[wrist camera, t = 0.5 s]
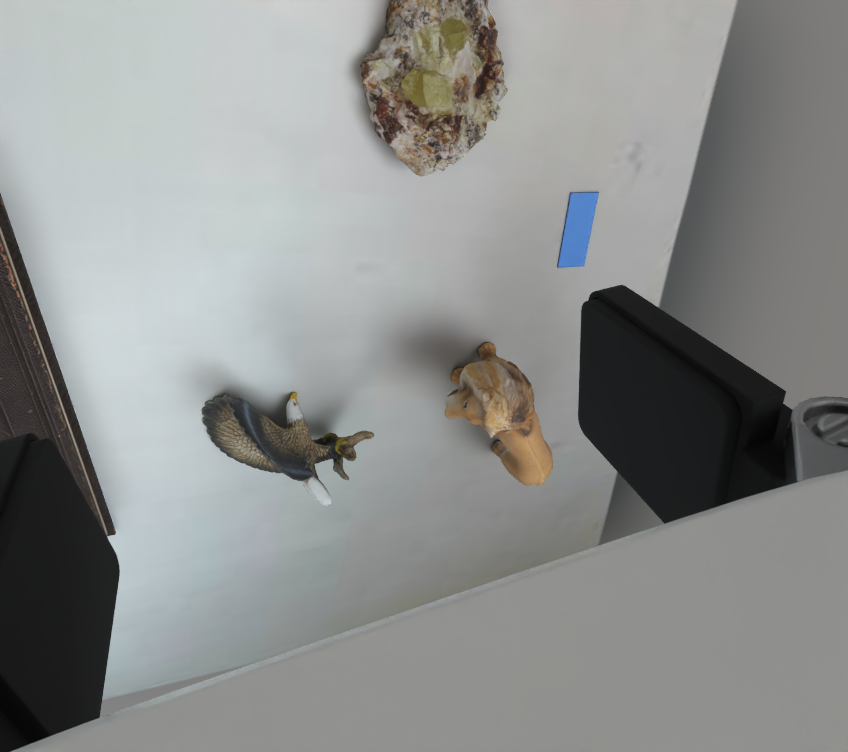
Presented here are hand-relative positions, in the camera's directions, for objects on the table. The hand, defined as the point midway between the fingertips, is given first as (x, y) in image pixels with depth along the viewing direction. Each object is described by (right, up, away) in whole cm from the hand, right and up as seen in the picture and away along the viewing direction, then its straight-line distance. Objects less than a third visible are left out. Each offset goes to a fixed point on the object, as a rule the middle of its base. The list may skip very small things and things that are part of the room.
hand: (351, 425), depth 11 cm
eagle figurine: (-8, -2, +30) cm, 32 cm away
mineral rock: (+2, +18, +22) cm, 28 cm away
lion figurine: (+5, 0, +35) cm, 35 cm away
